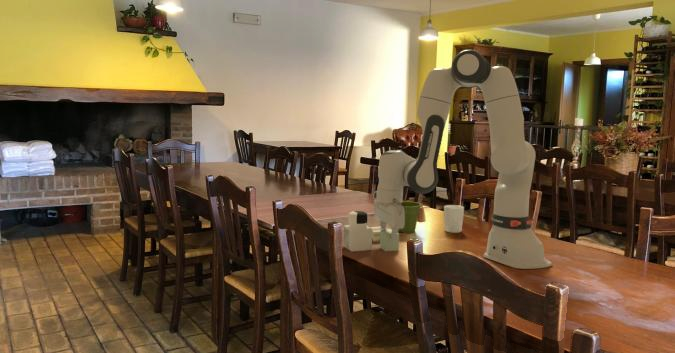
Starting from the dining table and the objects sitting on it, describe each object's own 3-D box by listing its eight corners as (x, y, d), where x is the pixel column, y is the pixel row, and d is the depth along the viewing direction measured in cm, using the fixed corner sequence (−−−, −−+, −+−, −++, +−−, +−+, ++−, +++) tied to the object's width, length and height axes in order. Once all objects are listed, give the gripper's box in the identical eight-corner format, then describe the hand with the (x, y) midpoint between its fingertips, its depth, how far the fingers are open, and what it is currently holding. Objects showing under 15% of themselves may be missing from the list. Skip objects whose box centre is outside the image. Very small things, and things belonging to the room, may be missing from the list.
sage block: (398, 250, 186) (399, 233, 185) (385, 251, 184) (385, 234, 184) (393, 246, 190) (393, 230, 190) (380, 247, 189) (380, 231, 188)
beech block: (393, 241, 200) (393, 230, 200) (374, 242, 197) (374, 232, 197) (383, 236, 207) (384, 226, 207) (365, 237, 204) (365, 227, 204)
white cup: (463, 233, 212) (464, 209, 211) (443, 232, 214) (444, 207, 212) (462, 229, 220) (463, 205, 218) (443, 228, 221) (444, 204, 220)
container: (363, 244, 193) (363, 209, 191) (372, 250, 185) (372, 213, 184) (343, 246, 190) (343, 210, 188) (351, 252, 183) (352, 214, 181)
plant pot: (385, 229, 218) (386, 202, 216) (409, 227, 223) (410, 200, 222) (401, 235, 207) (402, 207, 206) (426, 233, 213) (427, 205, 211)
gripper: (410, 201, 177) (408, 242, 178) (387, 191, 196) (386, 228, 198) (392, 202, 175) (390, 243, 177) (371, 192, 194) (370, 229, 196)
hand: (388, 235), depth 187 cm, fingers open, 8 cm apart
